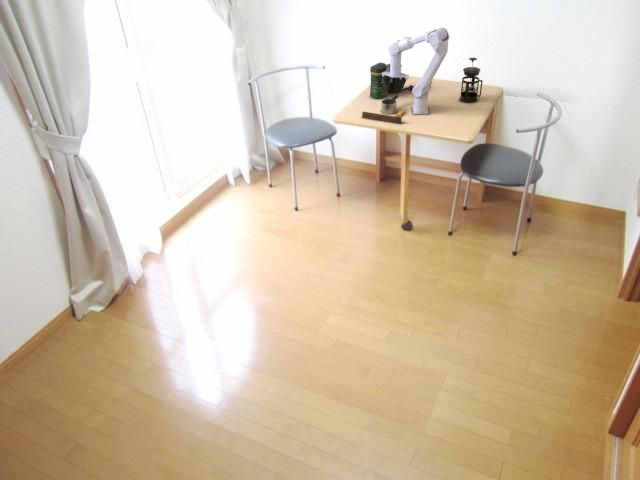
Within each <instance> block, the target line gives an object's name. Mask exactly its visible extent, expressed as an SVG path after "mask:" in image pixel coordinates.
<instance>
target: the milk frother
mask: <svg viewBox="0 0 640 480" xmlns="http://www.w3.org/2000/svg"><path fill="white" fill-rule="evenodd" d="M386 65H387V72H390V63H387V64H386ZM402 66H403V65H402V64H401V67H402ZM400 79H401V78H395V77H394V78H392V77H391V78H390V89H389V90H387V87H386V93H389V94H399V93H401V92H400ZM414 86H415V85H412V84H410V85H408V86H406V87H403V91H406V90H409V91H412V89H413V87H414Z"/></svg>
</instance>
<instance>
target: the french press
mask: <svg viewBox="0 0 640 480" xmlns="http://www.w3.org/2000/svg"><path fill="white" fill-rule="evenodd" d="M468 60H469V61H471V66H468V67H464V68H463V69H462V72H463V74H464V77H462V79H461V89H460V98H459V101H460V102H461V103H464V104H475V103H476V102H477V101H478V98H480V97H481V96H482V91H483V82H484V81H483V80H482V79H480V77H478V76H479V75H480V72H481V68H479V67H476V66H473V65H474V62H475V61H477V60H478V58H477V57H469V58H468ZM467 79H470V80H469V81H468V80H467ZM464 84H465V86H464ZM475 84H476V86H475ZM479 85H480V87H479ZM478 92H479V94H478Z"/></svg>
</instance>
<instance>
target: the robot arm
mask: <svg viewBox="0 0 640 480" xmlns="http://www.w3.org/2000/svg"><path fill="white" fill-rule="evenodd" d="M449 40H450V34H449V31H448V30H447V29H446V28H445V27H439V28H435V29H431V30H429V31H426V32H424V33H422V34H419V35H416V36H414V37H411V36H405V37H403V38H402V39H397V40H396V41H394V42H392V43H391V44H390V45H388V47H387V50H388V53H389V64H390V72H383V73H382V76H383V77H384V78H383V80H384V82H385V84H386V87H387V90H389V89H390V78H391V77H392V78H394V77H395V78H401V79H400V92H399V93H402V92H403V91H404V90H403V89H404V88H405V84H406V82H407V80H409V78H410V76H409V75H410V74H406V73H403V72H402V66H401V65H402V55H403V54H402V53H403V52H406V51H408V50H411V49H413V48H414V47H415V45H417V44H420V43H423V42H425V43H426V44H429V45H430V46H431V48H432V49H433V51H434V52H435V53H434V54H433V56H432V58H431V60H430V62H429V64H428V66H427V68H426V69H425V71H424V73H423V75H422V77H421V78H420V80H418V82H417V84H416V85H413V86H414V87H413V89H412V90H411V92H412V95H413V106H411V107H412V108H411V109H412V114H413V115H429V114H430V113H429V108H428V105H429V92H430V91H431V89H432V84H433V80H434V77H435V76H436V74H437V73H438V70H439V69H440V67H441V65H442V63H443V61H444V59H445V57H446V56H447V54H448V52H449V51H448V49H449Z"/></svg>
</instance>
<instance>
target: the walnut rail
mask: <svg viewBox="0 0 640 480" xmlns="http://www.w3.org/2000/svg"><path fill="white" fill-rule="evenodd" d="M361 117H362V119H366V120H367V119H368V120H372V121H373V120H374V121H379V122H386V123H391V124H398V125H401V124H402V123H403V122H402V121H403V120H402V119H403V118H402V116H401V117H396V116H393V115H390V114H383V113H376V112H370V111H362V112H361Z"/></svg>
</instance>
